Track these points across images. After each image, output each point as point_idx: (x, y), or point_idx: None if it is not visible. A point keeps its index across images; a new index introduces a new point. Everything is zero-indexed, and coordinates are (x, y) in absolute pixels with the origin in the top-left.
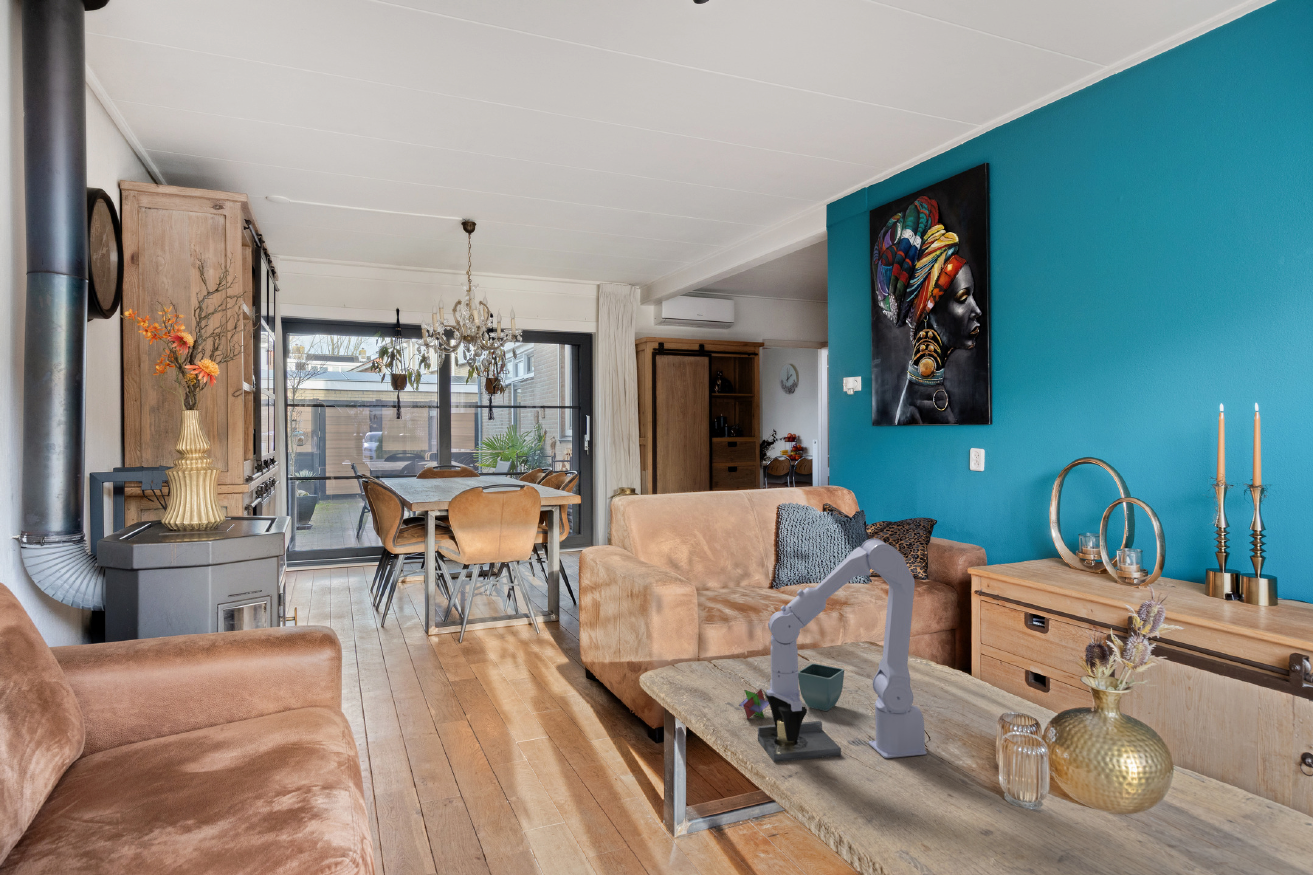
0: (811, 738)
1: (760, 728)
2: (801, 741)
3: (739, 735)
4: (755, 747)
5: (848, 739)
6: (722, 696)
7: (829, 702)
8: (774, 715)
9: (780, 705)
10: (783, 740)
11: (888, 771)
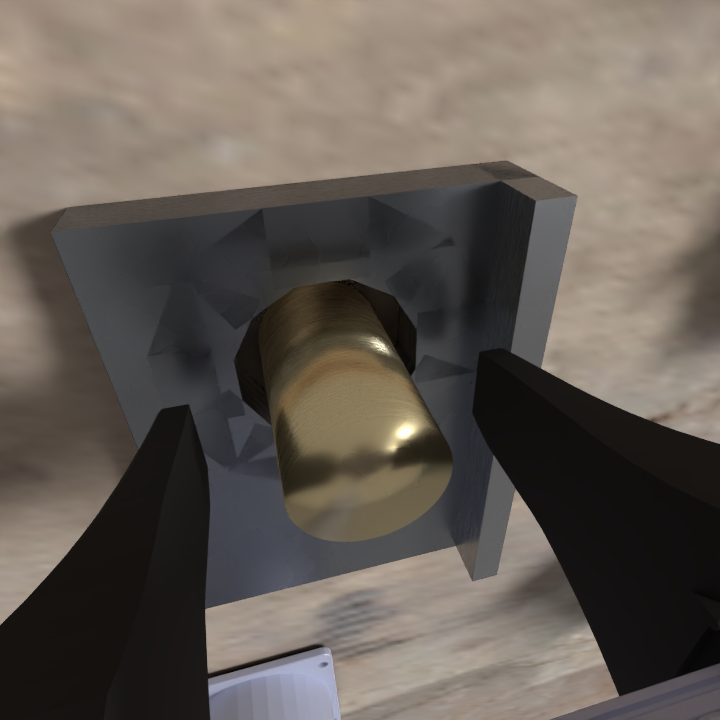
0: None
1: (530, 214)
2: None
3: (663, 15)
4: (393, 106)
5: (386, 591)
6: None
7: None
8: (540, 405)
9: (586, 530)
10: (274, 362)
11: None
